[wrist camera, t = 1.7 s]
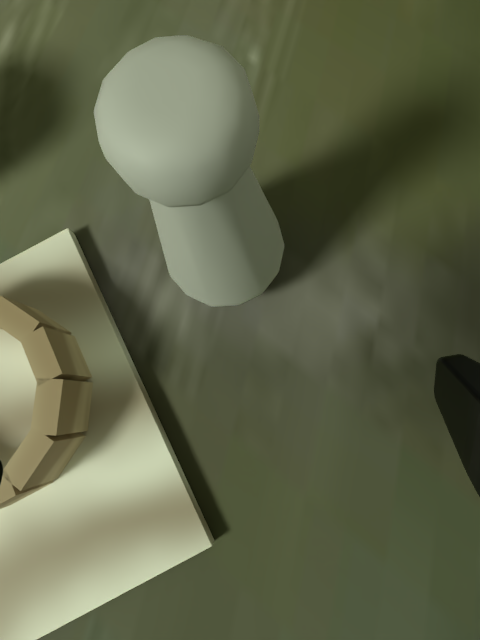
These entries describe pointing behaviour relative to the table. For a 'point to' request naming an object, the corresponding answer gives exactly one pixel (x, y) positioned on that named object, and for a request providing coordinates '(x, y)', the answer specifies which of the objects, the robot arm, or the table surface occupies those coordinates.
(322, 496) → the table surface
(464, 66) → the table surface
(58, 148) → the table surface
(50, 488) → the socket
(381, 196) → the table surface
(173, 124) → the salt shaker
